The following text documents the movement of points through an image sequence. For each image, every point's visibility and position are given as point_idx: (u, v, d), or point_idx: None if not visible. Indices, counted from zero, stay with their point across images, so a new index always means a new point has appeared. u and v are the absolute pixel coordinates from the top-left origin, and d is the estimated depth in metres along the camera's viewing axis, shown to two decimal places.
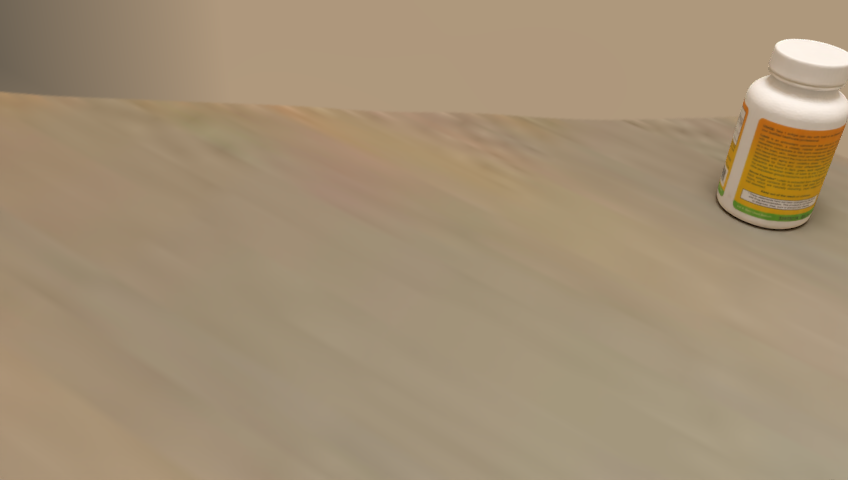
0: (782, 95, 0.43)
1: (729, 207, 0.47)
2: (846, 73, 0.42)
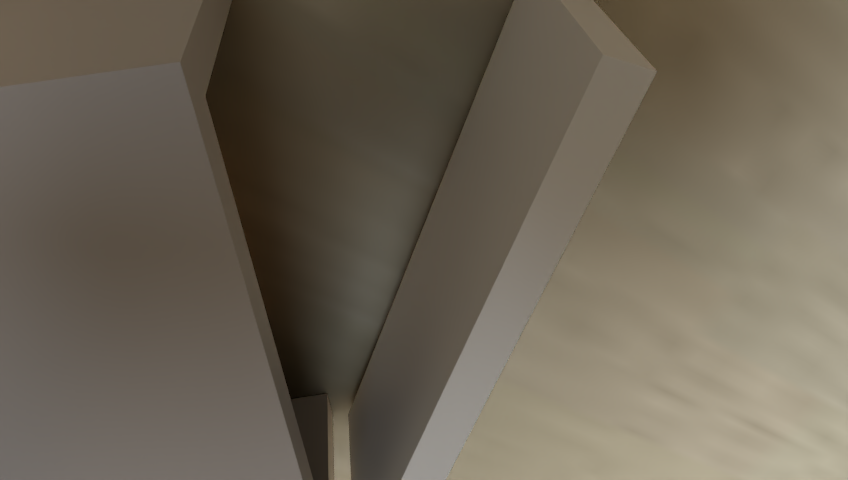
0: None
1: None
2: None
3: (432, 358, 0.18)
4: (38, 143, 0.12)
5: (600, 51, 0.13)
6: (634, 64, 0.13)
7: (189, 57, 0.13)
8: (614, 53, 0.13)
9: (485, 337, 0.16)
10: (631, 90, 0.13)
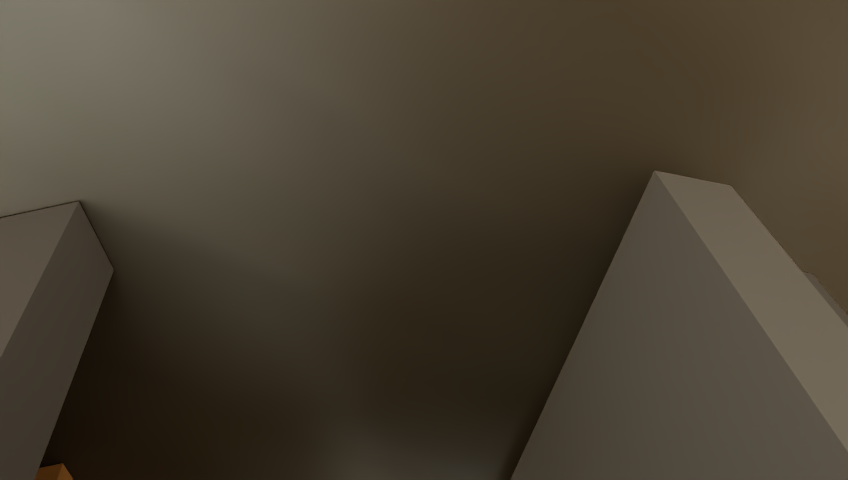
0: None
1: None
2: None
3: None
4: None
5: None
6: None
7: None
8: None
9: None
10: None
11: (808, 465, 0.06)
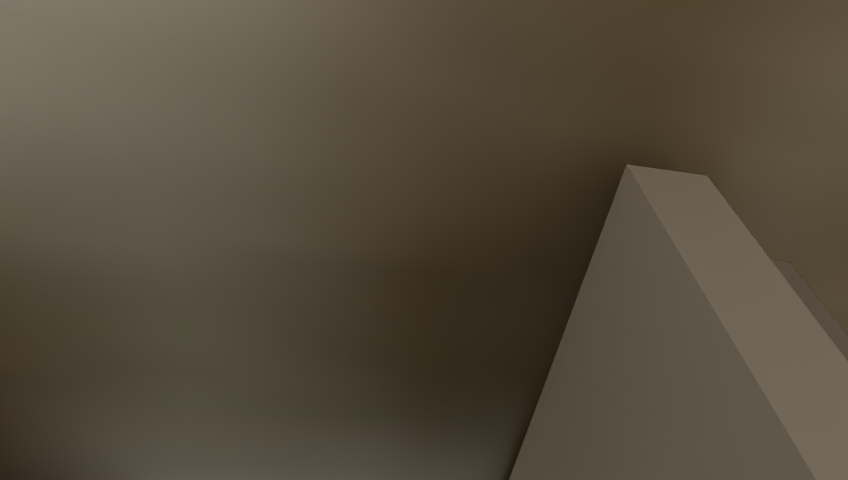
0: None
1: None
2: None
3: None
4: None
5: None
6: None
7: None
8: None
9: None
10: None
11: (762, 461, 0.06)
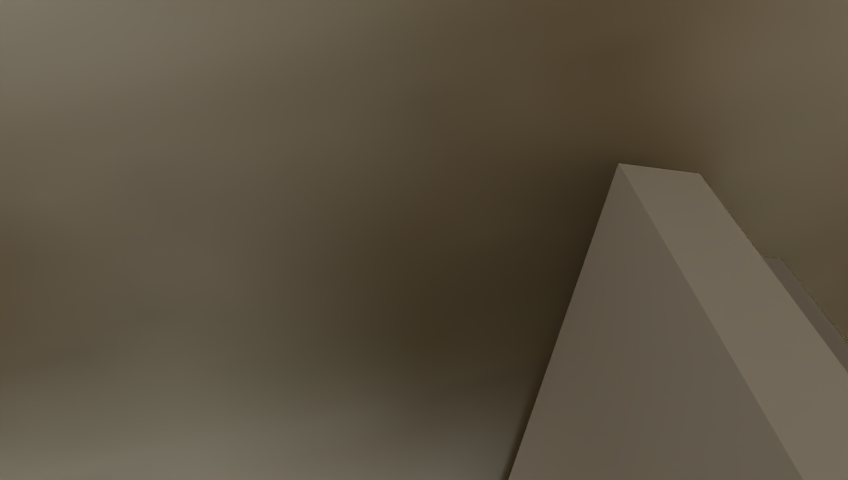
0: None
1: None
2: None
3: None
4: None
5: None
6: None
7: None
8: None
9: None
10: None
11: (749, 457, 0.06)
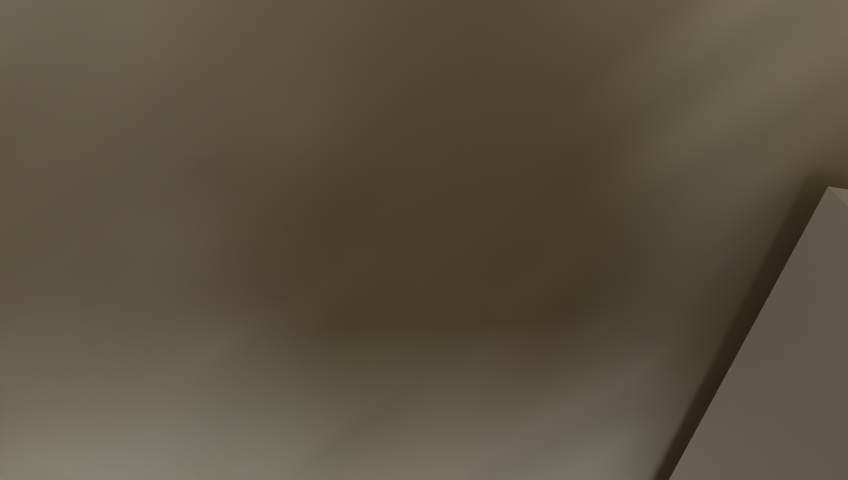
0: None
1: None
2: None
3: None
4: None
5: None
6: None
7: None
8: None
9: None
10: None
11: None
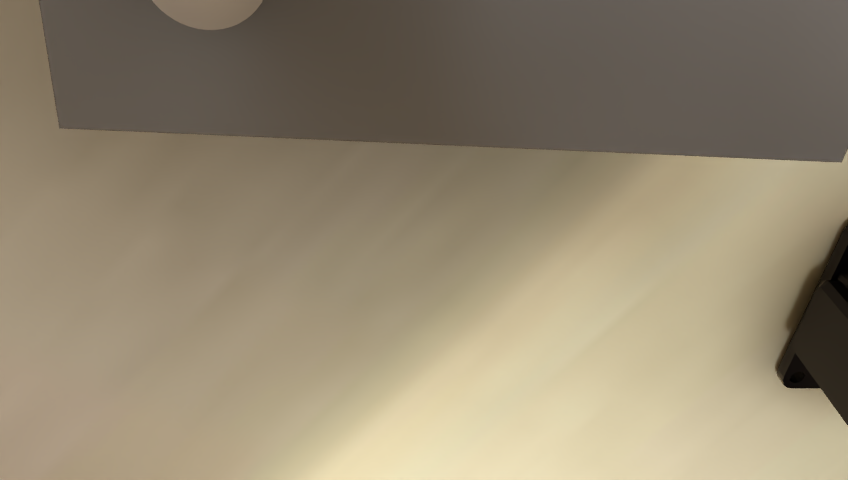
0: None
1: None
2: None
3: None
4: None
5: None
6: None
7: None
8: None
9: None
10: None
11: None
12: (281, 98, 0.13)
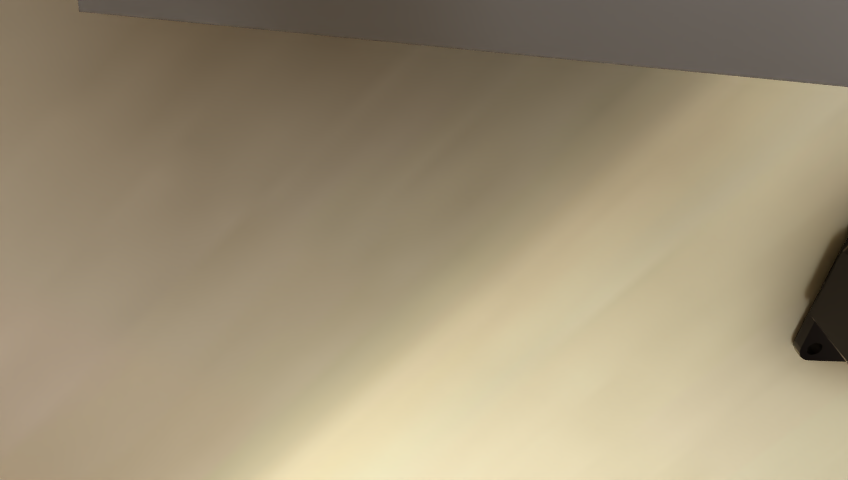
0: None
1: None
2: None
3: None
4: None
5: None
6: None
7: None
8: None
9: None
10: None
11: None
12: None
